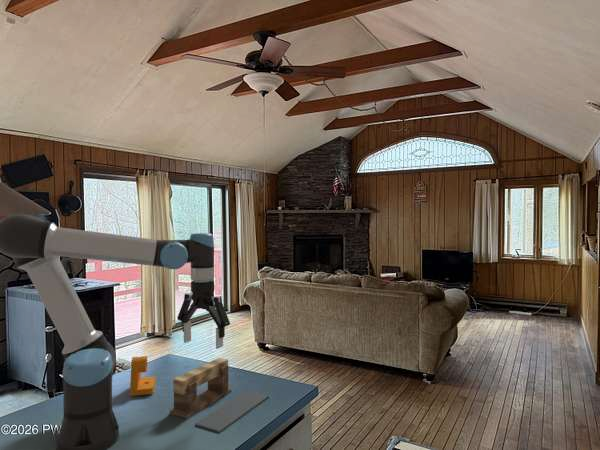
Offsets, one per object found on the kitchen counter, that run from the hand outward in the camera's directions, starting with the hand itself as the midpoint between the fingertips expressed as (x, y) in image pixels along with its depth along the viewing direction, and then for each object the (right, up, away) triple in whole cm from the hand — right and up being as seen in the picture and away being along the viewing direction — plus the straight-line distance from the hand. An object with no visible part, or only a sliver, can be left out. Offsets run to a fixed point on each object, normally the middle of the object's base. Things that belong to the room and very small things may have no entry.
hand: (203, 344), depth 134 cm
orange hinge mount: (-23, -19, +9) cm, 31 cm away
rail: (0, -12, 0) cm, 12 cm away
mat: (+11, -19, -6) cm, 23 cm away
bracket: (0, -19, 0) cm, 19 cm away
